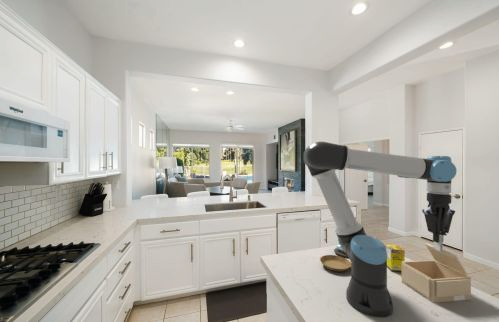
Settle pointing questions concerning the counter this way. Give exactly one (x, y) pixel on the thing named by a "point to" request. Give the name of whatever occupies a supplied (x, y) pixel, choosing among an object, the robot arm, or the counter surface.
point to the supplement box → (395, 257)
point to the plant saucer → (335, 263)
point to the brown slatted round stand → (340, 251)
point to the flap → (446, 258)
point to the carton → (436, 281)
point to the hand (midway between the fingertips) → (438, 249)
